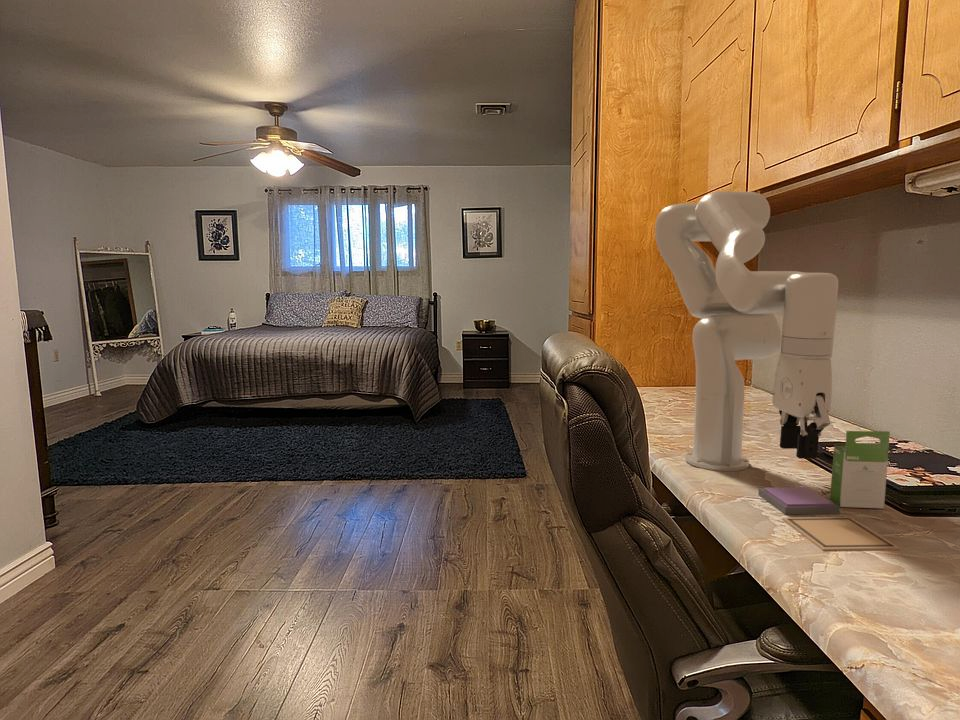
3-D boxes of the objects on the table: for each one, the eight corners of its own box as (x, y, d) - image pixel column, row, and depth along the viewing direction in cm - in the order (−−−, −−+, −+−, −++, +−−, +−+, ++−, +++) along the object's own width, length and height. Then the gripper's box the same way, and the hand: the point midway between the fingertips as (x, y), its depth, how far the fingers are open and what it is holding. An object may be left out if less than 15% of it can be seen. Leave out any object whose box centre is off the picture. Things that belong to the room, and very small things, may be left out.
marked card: (782, 519, 93) (782, 517, 93) (850, 518, 93) (850, 516, 93) (822, 550, 82) (823, 548, 82) (899, 549, 82) (900, 547, 82)
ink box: (872, 501, 100) (878, 426, 98) (884, 510, 96) (891, 431, 95) (829, 499, 101) (834, 424, 100) (839, 508, 97) (845, 430, 96)
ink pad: (758, 494, 104) (758, 486, 104) (808, 493, 104) (808, 486, 104) (784, 514, 95) (785, 505, 95) (839, 513, 95) (840, 505, 95)
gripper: (759, 341, 104) (752, 438, 107) (813, 355, 88) (803, 470, 90) (800, 341, 104) (792, 438, 107) (862, 354, 88) (851, 469, 90)
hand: (797, 451), depth 99 cm, fingers open, 4 cm apart
